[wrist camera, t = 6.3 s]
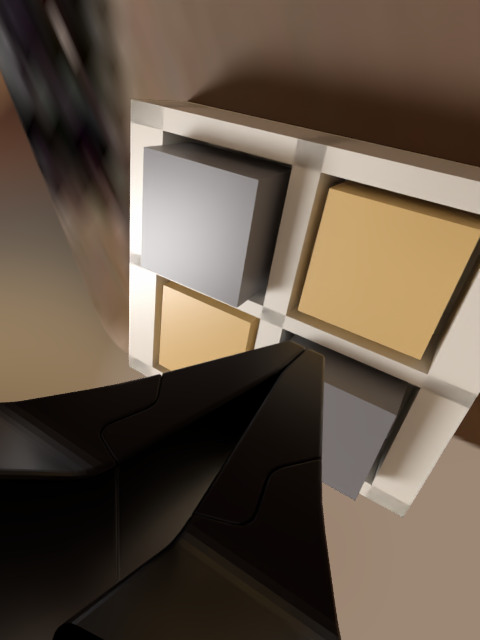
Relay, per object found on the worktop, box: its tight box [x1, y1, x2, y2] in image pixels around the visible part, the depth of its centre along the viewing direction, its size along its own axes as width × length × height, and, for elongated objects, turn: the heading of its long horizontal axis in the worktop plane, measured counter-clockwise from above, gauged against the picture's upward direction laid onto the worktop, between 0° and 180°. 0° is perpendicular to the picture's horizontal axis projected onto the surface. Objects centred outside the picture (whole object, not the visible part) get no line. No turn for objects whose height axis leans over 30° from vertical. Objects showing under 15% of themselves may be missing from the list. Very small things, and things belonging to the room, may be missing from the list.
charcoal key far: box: [290, 334, 408, 500], centre depth 17 cm, size 5×5×3 cm
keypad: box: [129, 99, 480, 517], centre depth 17 cm, size 15×13×4 cm
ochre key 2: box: [298, 180, 480, 360], centre depth 15 cm, size 5×5×3 cm
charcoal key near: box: [141, 142, 292, 308], centre depth 16 cm, size 5×5×3 cm
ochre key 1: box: [159, 281, 260, 371], centre depth 20 cm, size 5×5×3 cm
